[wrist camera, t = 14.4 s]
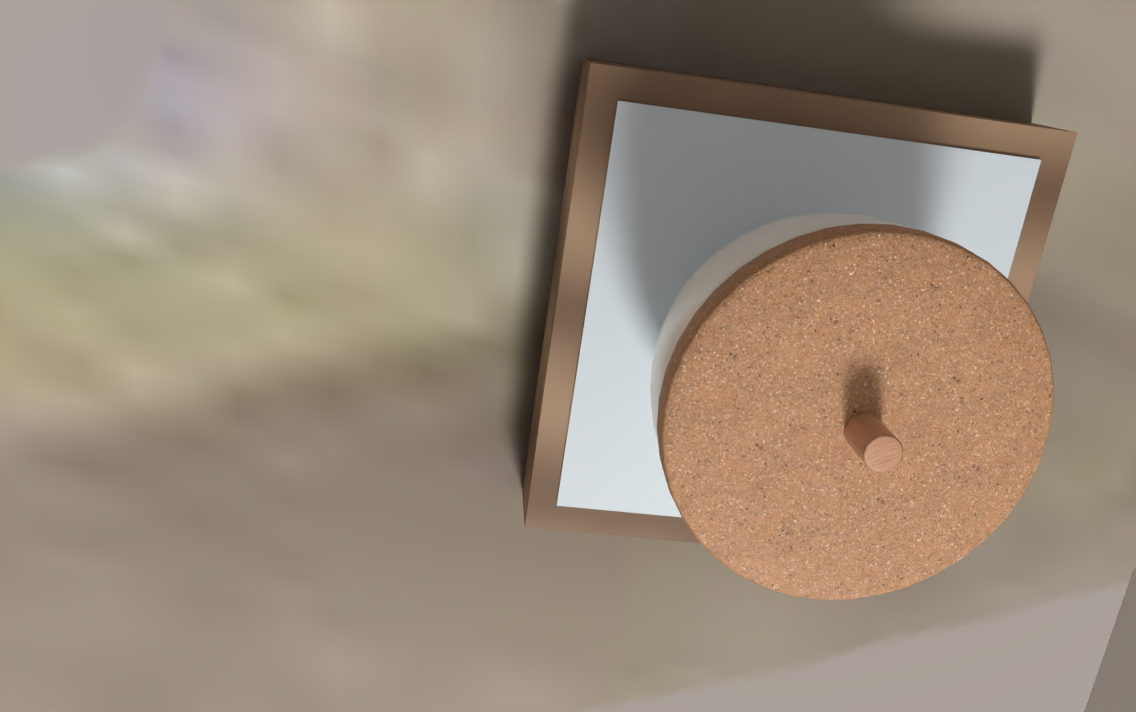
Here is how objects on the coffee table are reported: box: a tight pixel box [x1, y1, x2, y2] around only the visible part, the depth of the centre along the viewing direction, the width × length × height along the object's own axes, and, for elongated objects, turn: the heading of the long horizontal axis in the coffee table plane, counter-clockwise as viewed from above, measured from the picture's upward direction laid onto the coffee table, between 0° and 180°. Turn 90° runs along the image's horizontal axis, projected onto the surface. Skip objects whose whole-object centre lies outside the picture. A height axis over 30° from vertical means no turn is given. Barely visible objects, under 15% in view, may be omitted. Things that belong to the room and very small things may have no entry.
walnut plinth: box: [522, 59, 1077, 543], centre depth 36 cm, size 16×16×3 cm
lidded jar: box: [650, 212, 1054, 599], centre depth 30 cm, size 11×11×9 cm
